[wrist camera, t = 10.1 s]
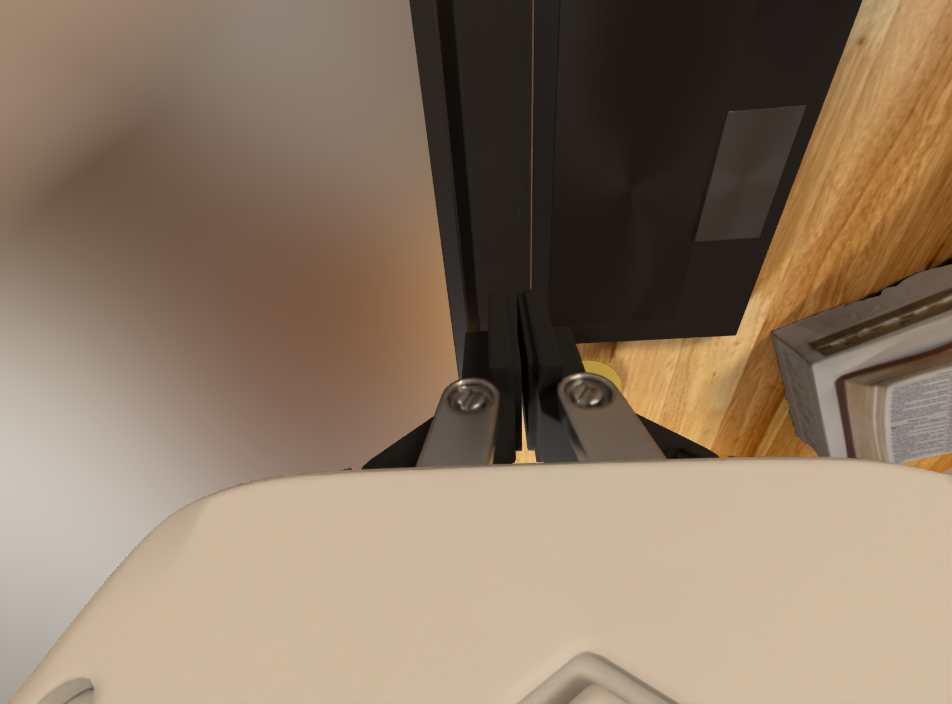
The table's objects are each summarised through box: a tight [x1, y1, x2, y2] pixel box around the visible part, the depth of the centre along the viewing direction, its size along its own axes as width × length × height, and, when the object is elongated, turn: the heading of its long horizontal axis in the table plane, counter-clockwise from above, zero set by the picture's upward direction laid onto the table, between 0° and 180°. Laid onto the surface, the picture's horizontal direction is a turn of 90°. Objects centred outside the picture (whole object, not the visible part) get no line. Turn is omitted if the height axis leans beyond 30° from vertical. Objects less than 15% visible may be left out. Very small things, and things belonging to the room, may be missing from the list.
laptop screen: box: [409, 0, 532, 380], centre depth 22 cm, size 21×30×1 cm
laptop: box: [530, 0, 862, 344], centre depth 30 cm, size 21×30×2 cm
